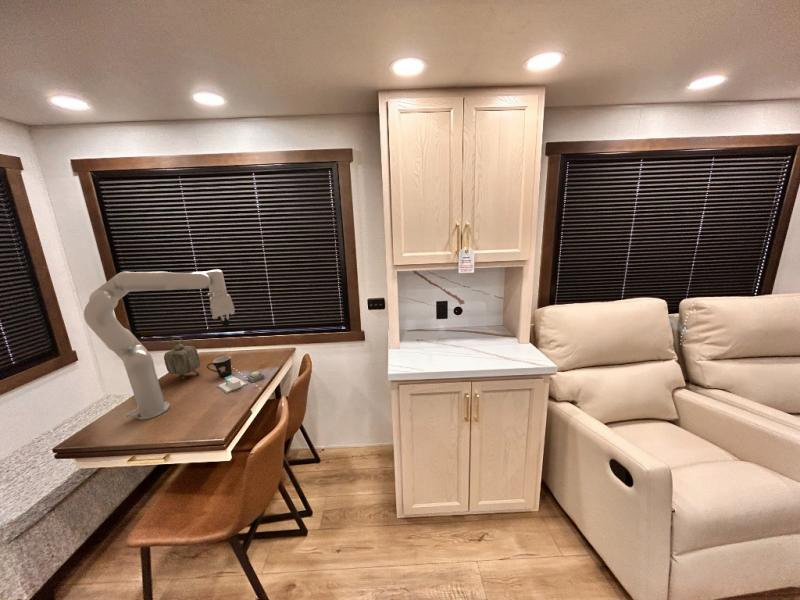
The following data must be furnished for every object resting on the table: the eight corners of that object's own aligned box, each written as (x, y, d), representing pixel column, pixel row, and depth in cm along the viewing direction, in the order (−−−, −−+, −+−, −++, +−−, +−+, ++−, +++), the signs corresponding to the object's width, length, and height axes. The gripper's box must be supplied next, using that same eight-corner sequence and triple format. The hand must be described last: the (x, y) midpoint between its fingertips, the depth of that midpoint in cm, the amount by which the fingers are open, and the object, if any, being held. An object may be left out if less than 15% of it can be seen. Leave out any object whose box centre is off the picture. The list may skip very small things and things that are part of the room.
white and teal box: (234, 389, 158) (233, 383, 157) (226, 383, 165) (224, 377, 164) (241, 386, 160) (240, 380, 159) (232, 380, 167) (231, 375, 166)
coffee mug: (237, 371, 180) (233, 355, 177) (227, 378, 172) (224, 362, 169) (218, 371, 181) (215, 356, 179) (208, 378, 173) (204, 362, 170)
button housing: (252, 382, 165) (252, 379, 164) (247, 379, 169) (246, 376, 168) (264, 377, 169) (263, 374, 169) (259, 374, 174) (258, 371, 173)
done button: (254, 380, 166) (252, 375, 165) (250, 378, 169) (249, 373, 168) (261, 377, 169) (260, 372, 168) (257, 375, 172) (256, 370, 171)
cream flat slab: (226, 393, 155) (226, 392, 155) (216, 386, 164) (216, 385, 164) (248, 384, 163) (247, 383, 163) (237, 377, 172) (237, 376, 172)
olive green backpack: (203, 373, 181) (193, 334, 174) (191, 381, 172) (180, 340, 166) (181, 373, 182) (170, 334, 176) (168, 381, 173) (156, 340, 167)
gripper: (205, 297, 150) (213, 332, 155) (236, 291, 161) (243, 323, 166) (200, 296, 155) (208, 329, 160) (230, 290, 166) (237, 321, 171)
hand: (226, 326), depth 163 cm, fingers closed
